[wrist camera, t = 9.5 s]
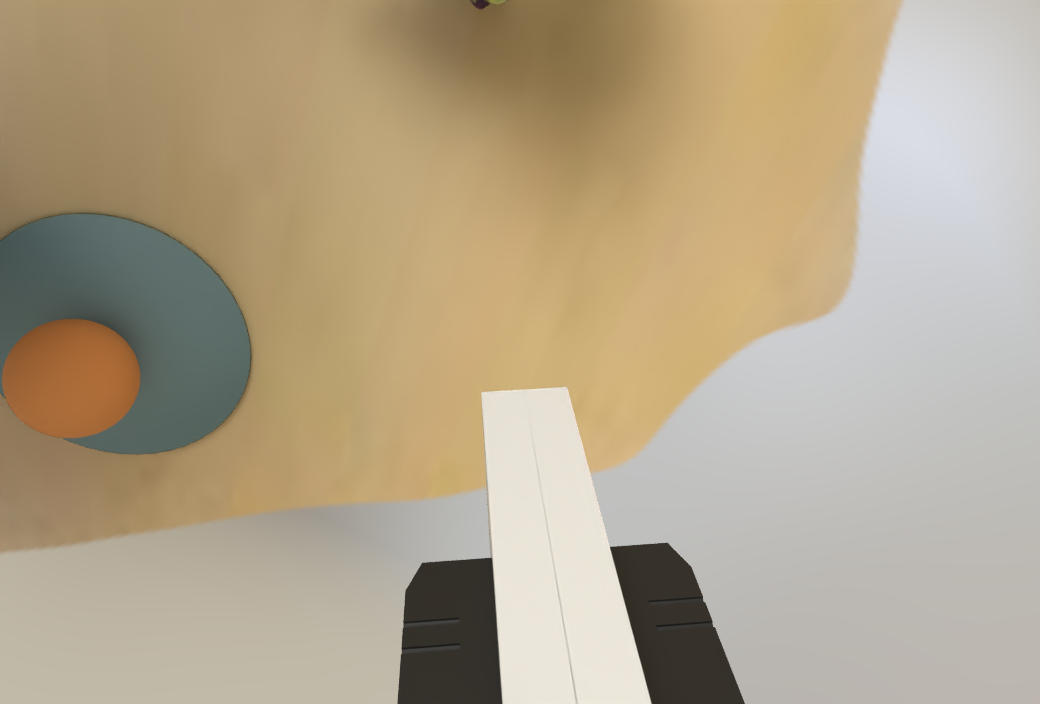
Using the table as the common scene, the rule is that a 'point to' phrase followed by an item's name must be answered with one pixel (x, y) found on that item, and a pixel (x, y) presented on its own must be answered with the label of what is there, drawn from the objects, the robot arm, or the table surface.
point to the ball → (71, 378)
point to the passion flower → (485, 3)
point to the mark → (133, 320)
